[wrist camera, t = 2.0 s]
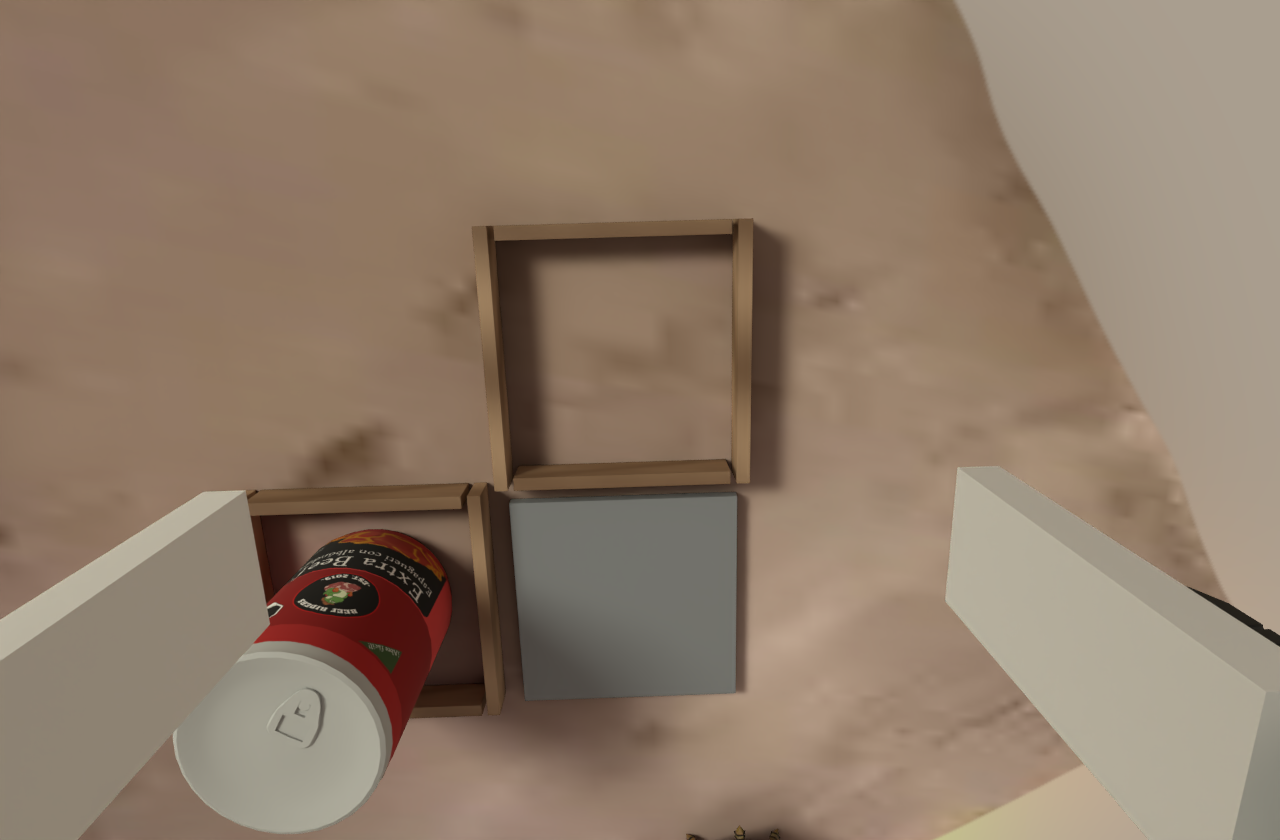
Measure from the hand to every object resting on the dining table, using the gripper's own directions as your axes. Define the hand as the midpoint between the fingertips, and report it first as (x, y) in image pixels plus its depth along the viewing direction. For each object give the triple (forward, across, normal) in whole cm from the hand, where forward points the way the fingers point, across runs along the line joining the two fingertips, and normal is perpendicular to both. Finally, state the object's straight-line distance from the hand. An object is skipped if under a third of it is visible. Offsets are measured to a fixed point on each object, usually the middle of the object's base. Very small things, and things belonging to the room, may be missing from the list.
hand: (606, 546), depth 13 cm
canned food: (+21, -12, -12) cm, 27 cm away
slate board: (+21, 0, -12) cm, 24 cm away
